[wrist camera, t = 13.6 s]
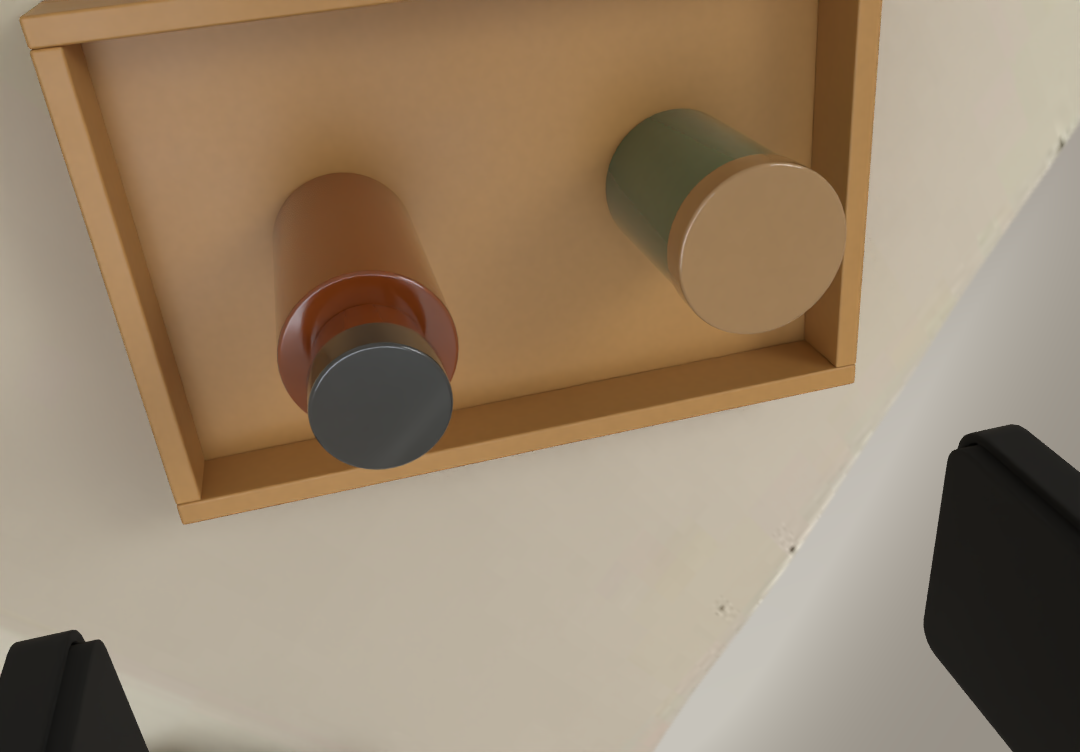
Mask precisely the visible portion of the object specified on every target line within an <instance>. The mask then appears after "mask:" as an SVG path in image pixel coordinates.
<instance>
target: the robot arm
mask: <svg viewBox="0 0 1080 752" xmlns="http://www.w3.org/2000/svg"><path fill="white" fill-rule="evenodd" d="M924 631H925V635H926V639H927V642H928V644H929V646H930V648H931V650H932V651H933V652H934V654H935V655H936V657H937V658H938V659H939V660H940V661H941V663H942V664H943V665H944V666H945V668H946V669H947V670H948V671H949V673H950V674H951V675H952V676H953V678H954V679H955V680H956V682H957V683H958V684H959V685H960V687H961V688H962V689H963V690H964V691H965V693H966V694H967V695H968V696H969V698H970V699H971V700H972V701H973V703H974V704H975V705H976V706H977V708H978V709H979V710H980V711H981V713H982V714H983V715H984V716H985V718H986V719H987V720H988V721H989V723H990V724H991V725H992V726H993V727H994V729H995V730H996V731H997V732H998V734H999V735H1000V736H1001V738H1002V739H1003V740H1004V741H1005V742H1006V744H1007V745H1008V746H1009V748H1010V749H1011V750H1012V751H1013V752H1080V472H1079V471H1077V470H1076V469H1075V468H1073V467H1072V466H1071V465H1070V464H1069V463H1067V462H1066V461H1065V460H1064V459H1062V458H1061V457H1060V456H1059V455H1057V454H1056V453H1055V452H1054V451H1052V450H1051V449H1050V448H1049V447H1047V446H1046V445H1045V444H1044V443H1042V442H1041V441H1040V440H1039V439H1037V438H1036V437H1035V436H1034V435H1032V434H1031V433H1030V432H1029V431H1027V430H1026V429H1024V428H1023V427H1021V426H1019V425H1013V424H1010V425H1006V426H1001V427H997V428H992V429H988V430H983V431H979V432H974V433H970V434H967V435H965V436H964V437H963V438H962V439H961V441H960V443H959V446H958V449H956V450H954V451H952V452H951V453H950V455H949V457H948V461H947V467H946V474H945V480H944V487H943V494H942V501H941V507H940V514H939V521H938V527H937V534H936V541H935V547H934V554H933V561H932V568H931V574H930V581H929V588H928V594H927V601H926V609H925V615H924ZM0 752H149V751H148V748H147V746H146V744H145V741H144V739H143V736H142V734H141V731H140V729H139V727H138V724H137V722H136V719H135V717H134V714H133V712H132V710H131V707H130V705H129V702H128V700H127V698H126V695H125V693H124V690H123V688H122V685H121V683H120V681H119V678H118V676H117V673H116V671H115V669H114V666H113V664H112V661H111V659H110V656H109V654H108V652H107V649H106V647H105V645H104V643H103V642H102V641H101V640H93V641H88V642H85V641H84V639H83V637H82V635H81V634H80V633H79V632H78V631H77V630H70V631H66V632H61V633H56V634H52V635H47V636H43V637H38V638H34V639H29V640H24V641H20V642H16V643H14V644H13V645H12V646H11V647H10V650H9V652H8V654H7V657H6V660H5V664H4V667H3V670H2V673H1V677H0Z"/></svg>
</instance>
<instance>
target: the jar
mask: <svg viewBox="0 0 1080 752" xmlns="http://www.w3.org/2000/svg"><path fill="white" fill-rule="evenodd" d="M606 200H607V205H608V208H609V211H610V214H611V216H612V218H613V220H614V222H615V223H616V225H617V226H618V228H619V229H620V230H621V231H622V232H623V233H624V234H625V235H626V236H627V238H628V239H629V240H630V241H631V242H632V243H633V244H634V245H635V246H636V247H637V248H638V249H639V250H640V251H641V252H642V253H643V254H644V255H645V256H646V257H647V258H648V259H649V260H650V262H651V263H652V264H653V265H654V266H655V267H656V268H657V269H658V270H659V271H660V272H661V273H662V274H663V275H664V276H665V277H666V278H667V279H668V280H669V281H670V282H671V283H672V284H673V285H674V287H675V289H676V291H677V293H678V294H679V296H680V297H681V298H682V299H683V301H684V302H685V303H686V304H687V305H688V306H689V307H690V308H691V309H692V311H693V312H694V313H695V314H696V315H697V316H699V317H700V318H701V319H702V320H703V321H705V322H706V323H708V324H709V325H711V326H713V327H715V328H717V329H719V330H722V331H726V332H730V333H737V334H755V333H763V332H766V331H770V330H774V329H776V328H779V327H781V326H784V325H786V324H788V323H789V322H791V321H793V320H795V319H796V318H798V317H799V316H801V315H802V314H804V313H805V312H806V311H807V310H808V309H810V308H811V307H812V306H813V305H814V304H815V303H816V302H817V301H818V300H819V299H820V297H821V296H822V295H823V294H824V292H825V291H826V290H827V289H828V287H829V285H830V284H831V282H832V281H833V279H834V277H835V275H836V273H837V271H838V269H839V266H840V263H841V261H842V258H843V254H844V250H845V243H846V220H845V214H844V211H843V207H842V204H841V202H840V200H839V197H838V195H837V194H836V192H835V191H834V189H833V187H832V186H831V185H830V184H829V183H828V182H827V181H826V180H825V179H824V178H823V177H822V176H821V175H819V174H818V173H817V172H815V171H813V170H811V169H810V168H808V167H806V166H804V165H803V164H801V163H799V162H797V161H795V160H793V159H790V158H788V157H785V156H780V155H778V154H776V153H774V152H773V151H771V150H769V149H768V148H766V147H764V146H762V145H761V144H759V143H757V142H756V141H754V140H752V139H750V138H749V137H747V136H745V135H744V134H742V133H740V132H738V131H737V130H735V129H733V128H732V127H730V126H728V125H726V124H725V123H723V122H721V121H719V120H718V119H716V118H714V117H713V116H711V115H709V114H707V113H704V112H701V111H698V110H693V109H683V108H681V109H671V110H667V111H663V112H660V113H657V114H654V115H652V116H651V117H649V118H647V119H645V120H644V121H642V122H641V123H639V124H638V125H637V126H635V127H634V128H633V129H632V130H631V131H630V132H629V133H628V134H627V135H626V136H625V137H624V139H623V140H622V141H621V143H620V144H619V146H618V147H617V149H616V151H615V153H614V154H613V157H612V159H611V162H610V164H609V168H608V172H607V177H606Z"/></svg>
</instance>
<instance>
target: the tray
mask: <svg viewBox="0 0 1080 752" xmlns="http://www.w3.org/2000/svg"><path fill="white" fill-rule="evenodd" d="M881 10H882V0H46V1H42V2H41V3H39V4H38V5H37V6H35V7H34V8H33V9H31V10H30V11H28V12H27V13H25V14H24V15H22V16H21V17H20V19H19V21H20V24H21V27H22V30H23V33H24V36H25V39H26V42H27V45H28V47H29V49H32V50H31V51H30V55H31V58H32V61H33V64H34V67H35V70H36V73H37V76H38V80H39V83H40V86H41V89H42V92H43V95H44V98H45V101H46V104H47V107H48V110H49V113H50V117H51V120H52V123H53V126H54V129H55V132H56V135H57V138H58V141H59V144H60V147H61V151H62V154H63V157H64V160H65V163H66V166H67V169H68V172H69V175H70V178H71V181H72V184H73V188H74V191H75V194H76V197H77V200H78V203H79V206H80V209H81V212H82V215H83V218H84V222H85V225H86V228H87V231H88V234H89V237H90V240H91V243H92V246H93V249H94V252H95V256H96V259H97V262H98V265H99V268H100V271H101V274H102V277H103V280H104V283H105V286H106V289H107V293H108V296H109V299H110V302H111V305H112V308H113V311H114V314H115V317H116V320H117V323H118V327H119V330H120V333H121V336H122V339H123V342H124V345H125V348H126V351H127V354H128V357H129V360H130V364H131V367H132V370H133V373H134V376H135V379H136V382H137V385H138V388H139V391H140V394H141V398H142V401H143V404H144V407H145V410H146V413H147V416H148V419H149V422H150V425H151V428H152V432H153V435H154V438H155V441H156V444H157V447H158V450H159V453H160V456H161V459H162V462H163V465H164V469H165V472H166V475H167V478H168V481H169V484H170V487H171V490H172V493H173V496H174V499H175V502H176V504H177V509H178V512H179V515H180V518H181V521H182V523H183V524H190V523H195V522H199V521H204V520H209V519H213V518H218V517H223V516H228V515H232V514H237V513H242V512H246V511H251V510H256V509H261V508H265V507H270V506H275V505H280V504H284V503H289V502H294V501H298V500H303V499H308V498H313V497H317V496H322V495H327V494H331V493H336V492H341V491H346V490H350V489H355V488H360V487H365V486H369V485H374V484H379V483H383V482H388V481H393V480H398V479H402V478H407V477H412V476H416V475H421V474H426V473H431V472H435V471H440V470H445V469H450V468H454V467H459V466H464V465H468V464H473V463H478V462H483V461H487V460H492V459H497V458H502V457H506V456H511V455H516V454H520V453H525V452H530V451H535V450H539V449H544V448H549V447H553V446H558V445H563V444H568V443H572V442H577V441H582V440H587V439H591V438H596V437H601V436H605V435H610V434H615V433H620V432H624V431H629V430H634V429H638V428H643V427H648V426H653V425H657V424H662V423H667V422H672V421H676V420H681V419H686V418H690V417H695V416H700V415H705V414H709V413H714V412H719V411H723V410H728V409H733V408H738V407H742V406H747V405H752V404H757V403H761V402H766V401H771V400H775V399H780V398H785V397H790V396H794V395H799V394H804V393H808V392H813V391H818V390H823V389H827V388H832V387H837V386H842V385H846V384H851V383H854V378H855V363H856V353H857V340H858V326H859V312H860V298H861V285H862V271H863V257H864V243H865V230H866V216H867V202H868V188H869V175H870V161H871V147H872V133H873V120H874V106H875V92H876V78H877V65H878V51H879V37H880V23H881ZM681 108H683V109H693V110H698V111H701V112H704V113H707V114H709V115H711V116H713V117H714V118H716V119H718V120H719V121H721V122H723V123H725V124H726V125H728V126H730V127H732V128H733V129H735V130H737V131H738V132H740V133H742V134H744V135H745V136H747V137H749V138H750V139H752V140H754V141H756V142H757V143H759V144H761V145H762V146H764V147H766V148H768V149H769V150H771V151H773V152H774V153H776V154H778V155H780V156H785V157H788V158H790V159H793V160H795V161H797V162H799V163H801V164H803V165H804V166H806V167H808V168H810V169H811V170H813V171H815V172H817V173H818V174H819V175H821V176H822V177H823V178H824V179H825V180H826V181H827V182H828V183H829V184H830V185H831V186H832V187H833V189H834V191H835V192H836V194H837V195H838V197H839V200H840V202H841V204H842V207H843V211H844V214H845V220H846V243H845V250H844V254H843V258H842V261H841V263H840V266H839V269H838V271H837V273H836V275H835V277H834V279H833V281H832V282H831V284H830V285H829V287H828V289H827V290H826V291H825V292H824V294H823V295H822V296H821V297H820V299H819V300H818V301H817V302H816V303H815V304H814V305H813V306H812V307H811V308H810V309H808V310H807V311H806V312H805V313H804V314H802V315H801V316H799V317H798V318H796V319H795V320H793V321H791V322H789V323H788V324H786V325H784V326H781V327H779V328H776V329H774V330H770V331H766V332H763V333H755V334H737V333H730V332H726V331H722V330H719V329H717V328H715V327H713V326H711V325H709V324H708V323H706V322H705V321H703V320H702V319H701V318H700V317H699V316H697V315H696V314H695V313H694V312H693V311H692V309H691V308H690V307H689V306H688V305H687V304H686V303H685V302H684V301H683V299H682V298H681V297H680V296H679V294H678V293H677V291H676V289H675V287H674V285H673V284H672V283H671V282H670V281H669V280H668V279H667V278H666V277H665V276H664V275H663V274H662V273H661V272H660V271H659V270H658V269H657V268H656V267H655V266H654V265H653V264H652V263H651V262H650V260H649V259H648V258H647V257H646V256H645V255H644V254H643V253H642V252H641V251H640V250H639V249H638V248H637V247H636V246H635V245H634V244H633V243H632V242H631V241H630V240H629V239H628V238H627V236H626V235H625V234H624V233H623V232H622V231H621V230H620V229H619V228H618V226H617V225H616V223H615V222H614V220H613V218H612V216H611V214H610V211H609V208H608V205H607V200H606V177H607V172H608V168H609V164H610V162H611V159H612V157H613V154H614V153H615V151H616V149H617V147H618V146H619V144H620V143H621V141H622V140H623V139H624V137H625V136H626V135H627V134H628V133H629V132H630V131H631V130H632V129H633V128H634V127H635V126H637V125H638V124H639V123H641V122H642V121H644V120H645V119H647V118H649V117H651V116H652V115H654V114H657V113H660V112H663V111H667V110H671V109H681ZM340 172H343V173H355V174H361V175H364V176H367V177H370V178H372V179H375V180H377V181H379V182H380V183H382V184H384V185H385V186H387V187H388V188H389V189H390V190H392V191H393V192H394V193H395V194H396V195H397V196H398V197H399V199H400V200H401V201H402V203H403V204H404V205H405V207H406V209H407V211H408V213H409V215H410V218H411V220H412V222H413V225H414V227H415V230H416V232H417V234H418V237H419V239H420V242H421V244H422V246H423V249H424V251H425V254H426V256H427V258H428V261H429V263H430V266H431V268H432V270H433V273H434V275H435V278H436V280H437V282H438V285H439V287H440V289H441V292H442V294H443V297H444V299H445V301H446V304H447V306H448V309H449V311H450V313H451V316H452V318H453V321H454V324H455V326H456V330H457V334H458V341H459V355H458V362H457V367H456V370H455V373H454V376H453V378H452V380H451V382H450V384H451V388H452V392H453V411H452V416H451V419H450V422H449V424H448V427H447V429H446V430H445V432H444V434H443V436H442V437H441V438H440V440H439V441H438V442H437V443H436V444H435V445H434V447H433V448H431V449H430V450H429V451H428V452H427V453H426V454H424V455H423V456H421V457H420V458H418V459H416V460H414V461H412V462H410V463H408V464H405V465H402V466H399V467H395V468H390V469H380V470H372V469H363V468H358V467H354V466H351V465H348V464H346V463H344V462H341V461H340V460H338V459H336V458H335V457H333V456H332V455H331V454H329V453H328V452H327V451H326V450H325V449H324V448H323V447H322V446H321V445H320V444H319V442H318V441H317V439H316V438H315V436H314V434H313V432H312V430H311V427H310V424H309V419H308V414H306V413H305V412H304V411H303V410H302V409H300V408H299V406H298V405H297V404H296V403H295V402H294V401H293V400H292V398H291V397H290V395H289V394H288V393H287V391H286V389H285V387H284V385H283V383H282V380H281V377H280V374H279V370H278V364H277V346H276V320H275V294H274V268H273V238H272V235H273V227H274V223H275V220H276V217H277V214H278V212H279V210H280V208H281V206H282V205H283V203H284V202H285V200H286V199H287V198H288V197H289V196H290V194H292V193H293V192H294V191H295V190H296V189H297V188H298V187H300V186H301V185H303V184H304V183H306V182H308V181H310V180H312V179H314V178H316V177H319V176H322V175H326V174H331V173H340Z"/></svg>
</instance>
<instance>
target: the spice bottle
mask: <svg viewBox="0 0 1080 752" xmlns="http://www.w3.org/2000/svg"><path fill="white" fill-rule="evenodd" d="M272 238H273V268H274V294H275V320H276V346H277V364H278V370H279V374H280V377H281V380H282V383H283V385H284V387H285V389H286V391H287V393H288V394H289V395H290V397H291V398H292V400H293V401H294V402H295V403H296V404H297V405H298V406H299V408H300V409H302V410H303V411H304V412H305V413H306V414H308V419H309V424H310V427H311V430H312V432H313V434H314V436H315V438H316V439H317V441H318V442H319V444H320V445H321V446H322V447H323V448H324V449H325V450H326V451H327V452H328V453H329V454H331V455H332V456H333V457H335V458H336V459H338V460H340V461H341V462H344V463H346V464H348V465H351V466H354V467H358V468H363V469H372V470H380V469H390V468H395V467H399V466H402V465H405V464H408V463H410V462H412V461H414V460H416V459H418V458H420V457H421V456H423V455H424V454H426V453H427V452H428V451H429V450H430V449H431V448H433V447H434V445H435V444H436V443H437V442H438V441H439V440H440V438H441V437H442V436H443V434H444V432H445V430H446V429H447V427H448V424H449V422H450V419H451V416H452V411H453V392H452V388H451V384H450V382H451V380H452V378H453V376H454V373H455V370H456V367H457V362H458V355H459V341H458V334H457V330H456V326H455V324H454V321H453V318H452V316H451V313H450V311H449V309H448V306H447V304H446V301H445V299H444V297H443V294H442V292H441V289H440V287H439V285H438V282H437V280H436V278H435V275H434V273H433V270H432V268H431V266H430V263H429V261H428V258H427V256H426V254H425V251H424V249H423V246H422V244H421V242H420V239H419V237H418V234H417V232H416V230H415V227H414V225H413V222H412V220H411V218H410V215H409V213H408V211H407V209H406V207H405V205H404V204H403V203H402V201H401V200H400V199H399V197H398V196H397V195H396V194H395V193H394V192H393V191H392V190H390V189H389V188H388V187H387V186H385V185H384V184H382V183H380V182H379V181H377V180H375V179H372V178H370V177H367V176H364V175H361V174H355V173H343V172H340V173H331V174H326V175H322V176H319V177H316V178H314V179H312V180H310V181H308V182H306V183H304V184H303V185H301V186H300V187H298V188H297V189H296V190H295V191H294V192H293V193H292V194H290V196H289V197H288V198H287V199H286V200H285V202H284V203H283V205H282V206H281V208H280V210H279V212H278V214H277V217H276V220H275V223H274V227H273V235H272Z"/></svg>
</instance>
